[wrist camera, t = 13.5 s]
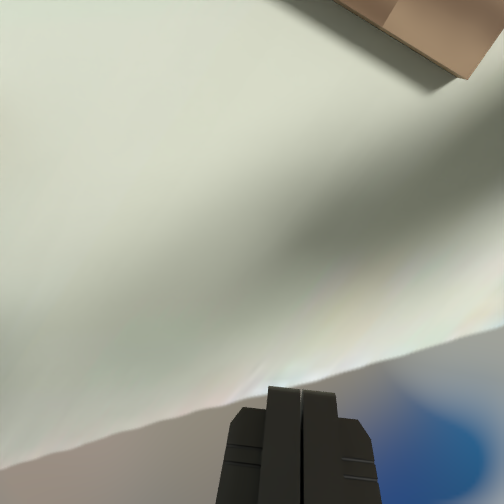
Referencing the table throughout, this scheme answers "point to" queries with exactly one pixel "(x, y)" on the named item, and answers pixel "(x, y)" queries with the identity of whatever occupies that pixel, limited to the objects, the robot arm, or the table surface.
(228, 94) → the table surface
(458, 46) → the board
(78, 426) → the table surface
